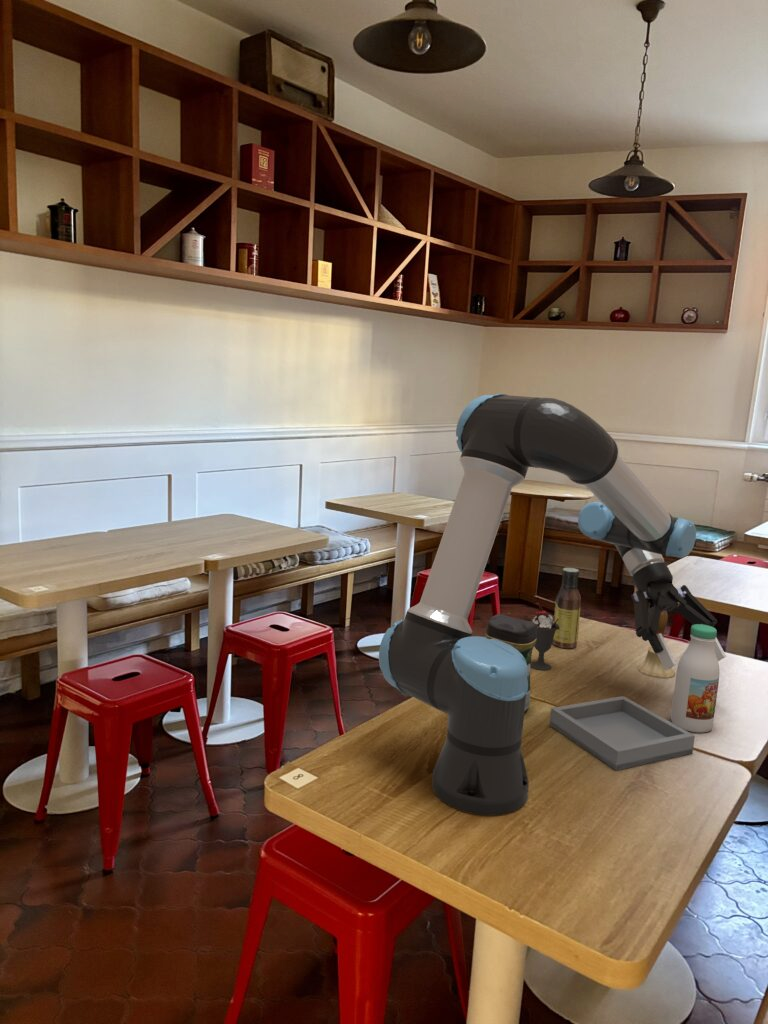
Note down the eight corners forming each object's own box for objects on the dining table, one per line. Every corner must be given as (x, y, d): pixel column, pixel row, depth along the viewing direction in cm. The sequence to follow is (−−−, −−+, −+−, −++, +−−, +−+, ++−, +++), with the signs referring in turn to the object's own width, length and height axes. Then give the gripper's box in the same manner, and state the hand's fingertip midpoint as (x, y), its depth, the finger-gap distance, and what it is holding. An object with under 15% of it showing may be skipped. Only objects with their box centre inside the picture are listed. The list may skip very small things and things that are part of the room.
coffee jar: (473, 706, 151) (481, 616, 147) (491, 694, 157) (498, 608, 154) (518, 720, 145) (527, 628, 142) (534, 707, 152) (543, 618, 149)
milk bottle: (667, 727, 146) (680, 628, 143) (672, 712, 153) (685, 618, 150) (710, 737, 143) (724, 636, 139) (713, 722, 149) (727, 626, 146)
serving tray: (615, 770, 128) (618, 751, 127) (549, 725, 144) (551, 708, 143) (692, 753, 136) (694, 735, 135) (621, 712, 152) (623, 696, 151)
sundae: (520, 661, 177) (526, 600, 174) (545, 660, 179) (551, 599, 176) (534, 672, 170) (540, 608, 168) (560, 670, 172) (566, 607, 170)
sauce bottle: (561, 639, 194) (569, 564, 191) (582, 646, 190) (590, 570, 186) (545, 644, 190) (553, 567, 187) (566, 651, 185) (574, 573, 182)
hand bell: (659, 680, 170) (668, 613, 167) (629, 668, 177) (637, 602, 174) (682, 674, 174) (691, 608, 172) (652, 662, 181) (660, 598, 179)
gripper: (679, 575, 166) (727, 663, 156) (592, 582, 155) (636, 678, 145) (702, 557, 161) (753, 648, 150) (613, 563, 150) (661, 662, 139)
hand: (696, 663), depth 147 cm, fingers open, 13 cm apart
